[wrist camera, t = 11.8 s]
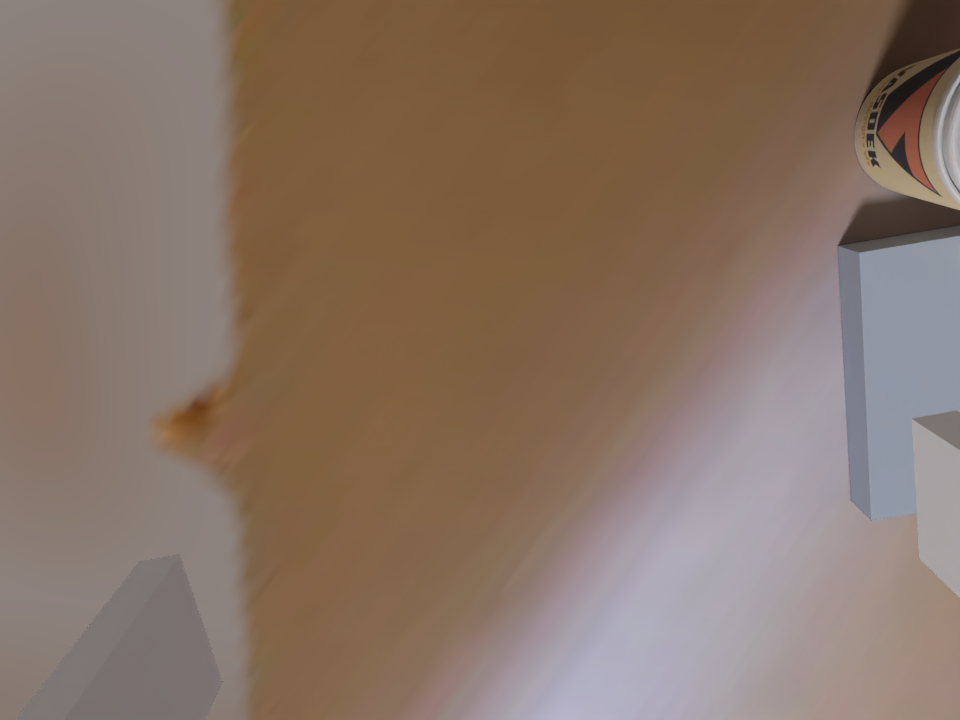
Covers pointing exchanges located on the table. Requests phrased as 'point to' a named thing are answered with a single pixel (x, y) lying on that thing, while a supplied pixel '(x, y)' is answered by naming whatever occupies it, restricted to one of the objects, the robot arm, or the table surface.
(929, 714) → the table surface
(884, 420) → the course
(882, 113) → the coffee cup
